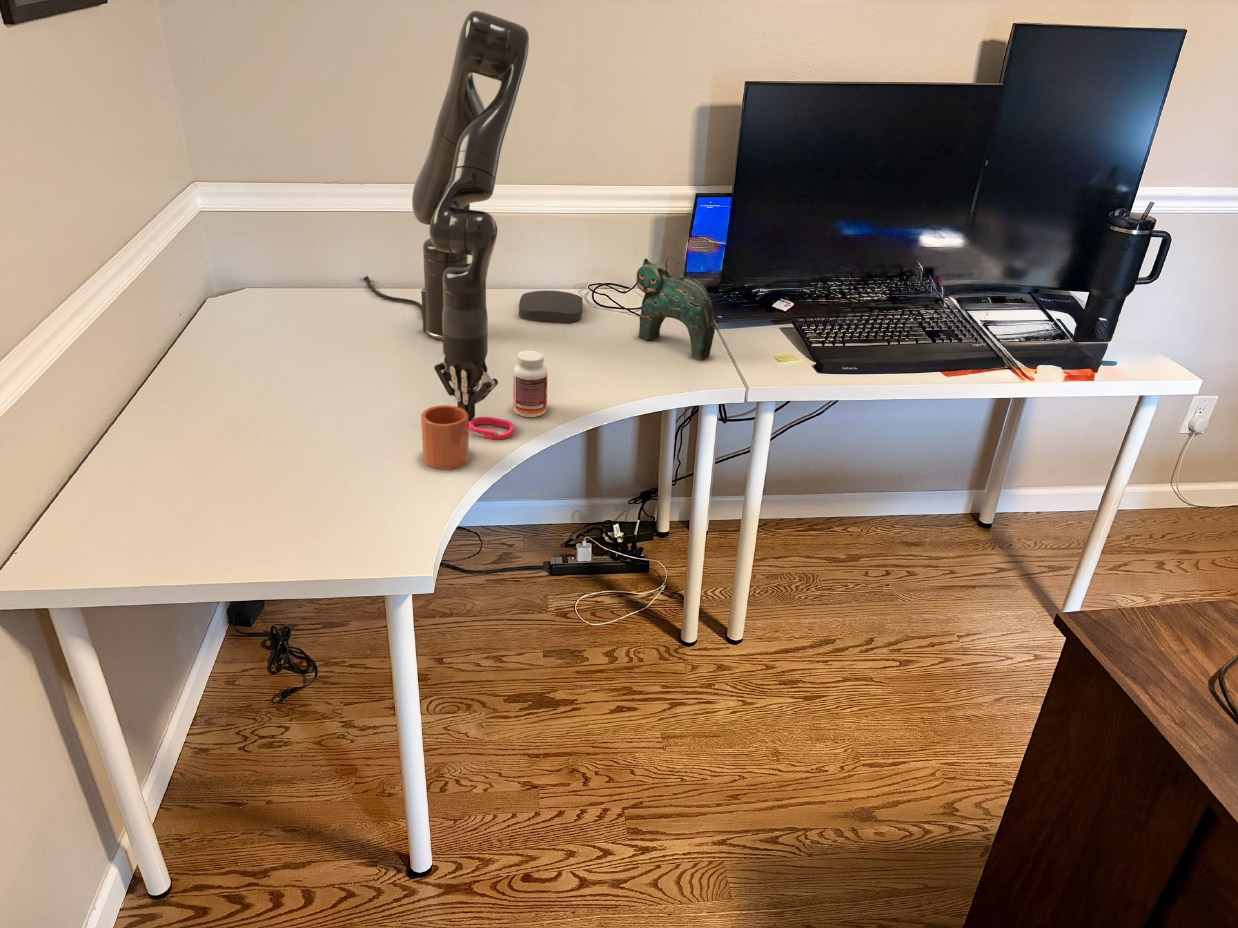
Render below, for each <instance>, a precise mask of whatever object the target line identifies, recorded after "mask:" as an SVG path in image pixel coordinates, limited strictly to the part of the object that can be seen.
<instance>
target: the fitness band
mask: <svg viewBox="0 0 1238 928" xmlns="http://www.w3.org/2000/svg"><path fill="white" fill-rule="evenodd" d="M476 425H477V426H476ZM478 425H492V426H497V427H503V428H507V429H508V430H507V431H506V432H503V433H500V434H498V433H499V432H498V431H497V430H493V429H486V428H482V427H478ZM468 429H469V430H471V431H472V432H473V436H474V437H479V438H484V439H489V440H505V439H508V438H510V437H512V436H513V435H514V433H515V425H514V423H513V422H512V421H510V420H507V419H504V418H503V419H502V418H499V417H498V418H497V417H492V416H479V417H474V418H473V419H472V420H471V421H469V422H468Z"/></svg>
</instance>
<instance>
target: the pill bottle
mask: <svg viewBox="0 0 1238 928" xmlns="http://www.w3.org/2000/svg"><path fill="white" fill-rule="evenodd" d="M516 359H517V360H516V362H517V364H516V365H515V366H514V368H513V370H512V371H513V375H512V376H513V377H512V378H513V380H512V381H513V382H512V383H513V387H512V389H513V391H512V393H513V394H512V395H513V396H512V397H513V398H512V399H513V400H512V403H513V406H512V408H513V411H514V413H516V414H517V415H518V416H521V417H526V418H536V417H540V416H542V415H544V414H546V412H547V410H548V369H547V366H546V365H544V362H545V359H544V354H543V353H542V352H540V351H537V350H523V351H520V352H519V353H518V354H517V357H516Z"/></svg>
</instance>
